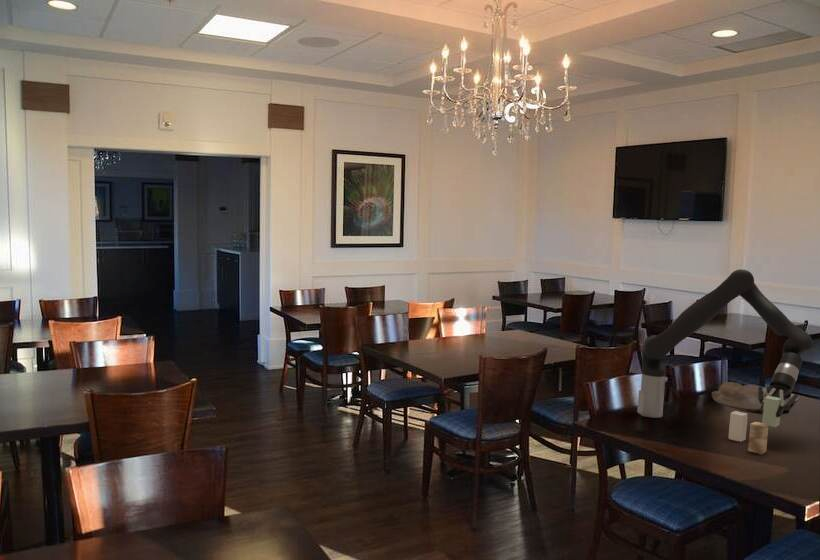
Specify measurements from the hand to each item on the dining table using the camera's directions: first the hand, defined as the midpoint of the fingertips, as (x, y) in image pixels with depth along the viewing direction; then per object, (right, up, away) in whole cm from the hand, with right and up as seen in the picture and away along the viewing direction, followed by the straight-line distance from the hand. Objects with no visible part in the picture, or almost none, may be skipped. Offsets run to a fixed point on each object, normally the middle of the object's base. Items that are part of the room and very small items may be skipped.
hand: (769, 414), depth 252 cm
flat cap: (+22, -8, +61) cm, 65 cm away
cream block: (-8, -11, +8) cm, 16 cm away
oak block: (-7, -12, -5) cm, 15 cm away
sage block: (+1, -4, +2) cm, 5 cm away
